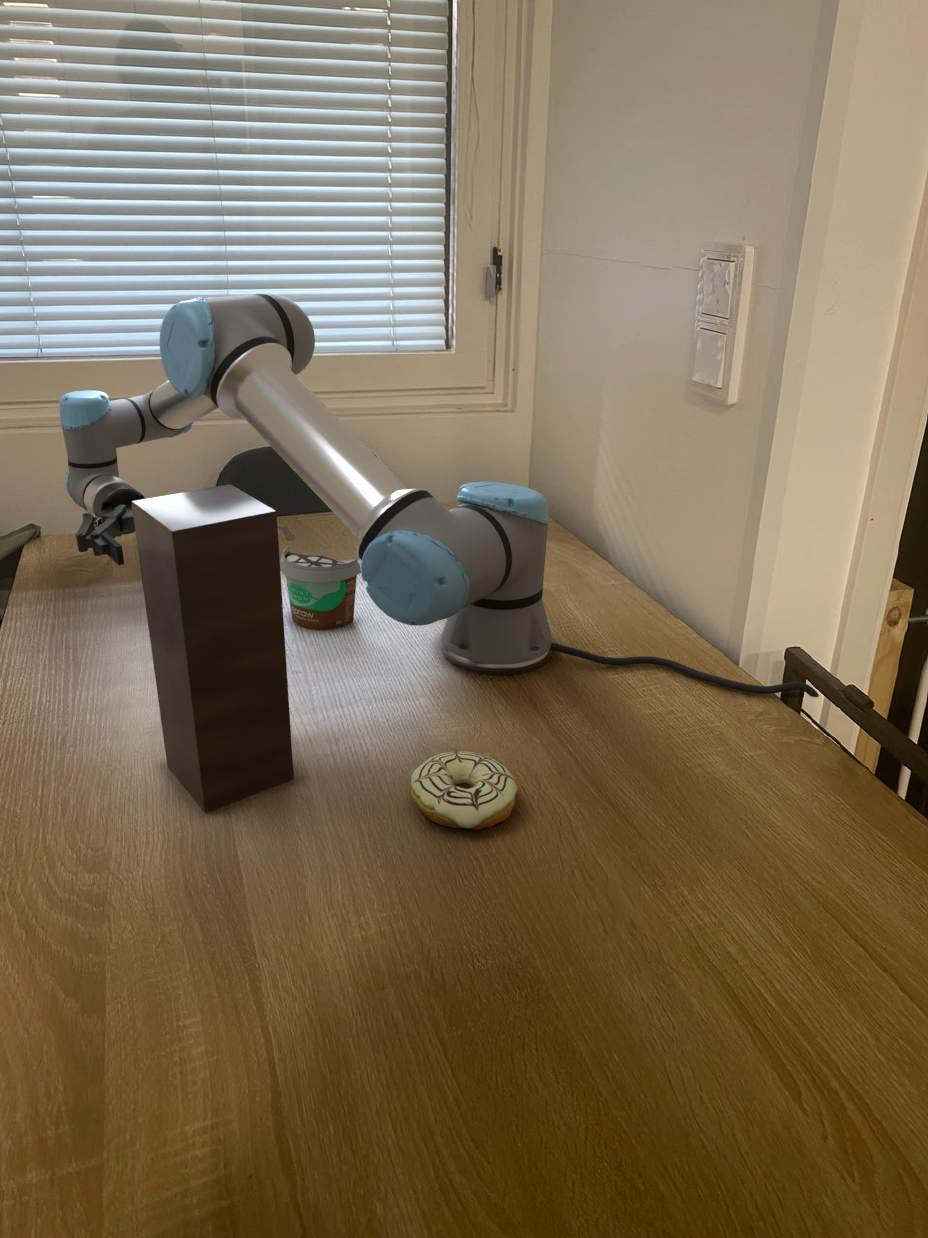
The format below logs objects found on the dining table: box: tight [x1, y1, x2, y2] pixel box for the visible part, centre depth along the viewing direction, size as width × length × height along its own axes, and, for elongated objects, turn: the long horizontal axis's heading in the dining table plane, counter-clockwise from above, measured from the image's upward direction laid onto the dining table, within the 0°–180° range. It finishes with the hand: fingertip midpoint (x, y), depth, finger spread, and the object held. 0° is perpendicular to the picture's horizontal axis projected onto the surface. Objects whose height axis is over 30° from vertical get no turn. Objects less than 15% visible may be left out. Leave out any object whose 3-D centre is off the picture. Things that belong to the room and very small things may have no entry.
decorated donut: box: [410, 750, 519, 831], centre depth 93 cm, size 10×11×4 cm
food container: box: [280, 545, 362, 631], centre depth 129 cm, size 12×6×10 cm, turn 68°
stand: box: [131, 484, 295, 813], centre depth 91 cm, size 10×10×30 cm
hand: (168, 545), depth 128 cm, fingers open, 13 cm apart
